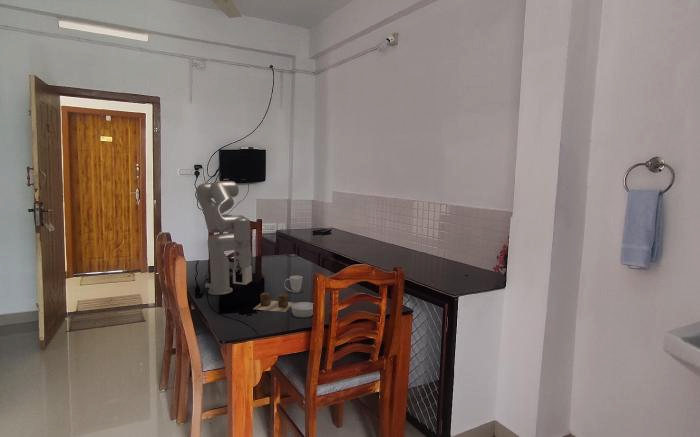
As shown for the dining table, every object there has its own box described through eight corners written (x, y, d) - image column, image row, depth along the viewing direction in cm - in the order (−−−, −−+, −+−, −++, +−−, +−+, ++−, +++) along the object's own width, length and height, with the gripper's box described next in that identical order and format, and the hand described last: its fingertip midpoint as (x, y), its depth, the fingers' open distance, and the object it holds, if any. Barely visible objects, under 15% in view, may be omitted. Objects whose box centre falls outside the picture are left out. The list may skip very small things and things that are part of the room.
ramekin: (316, 321, 190) (316, 309, 189) (290, 321, 189) (290, 310, 189) (316, 312, 201) (316, 301, 201) (292, 313, 200) (291, 302, 200)
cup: (302, 293, 231) (302, 278, 230) (283, 293, 230) (283, 279, 229) (302, 289, 238) (302, 275, 237) (284, 289, 237) (284, 275, 236)
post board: (252, 312, 201) (252, 297, 200) (264, 303, 214) (264, 289, 213) (285, 315, 197) (284, 300, 196) (295, 305, 211) (295, 291, 210)
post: (278, 307, 203) (278, 296, 202) (281, 305, 207) (281, 293, 206) (285, 307, 202) (285, 296, 202) (288, 305, 206) (288, 294, 205)
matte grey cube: (233, 283, 206) (232, 267, 204) (239, 279, 212) (239, 264, 211) (245, 284, 204) (245, 268, 203) (251, 280, 211) (251, 265, 209)
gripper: (240, 247, 196) (241, 285, 199) (257, 240, 213) (257, 275, 216) (225, 246, 198) (226, 284, 200) (243, 239, 215) (243, 274, 217)
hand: (242, 279), depth 208 cm, fingers closed on matte grey cube, 6 cm apart
